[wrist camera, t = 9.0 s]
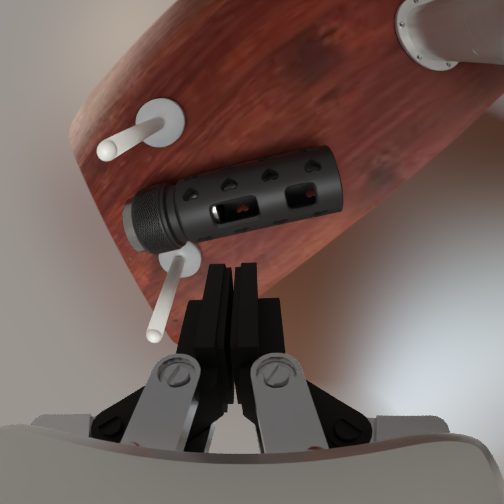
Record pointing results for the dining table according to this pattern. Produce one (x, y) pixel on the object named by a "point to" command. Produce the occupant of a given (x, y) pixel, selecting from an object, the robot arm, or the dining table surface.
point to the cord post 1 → (147, 129)
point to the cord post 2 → (172, 284)
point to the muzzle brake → (234, 200)
